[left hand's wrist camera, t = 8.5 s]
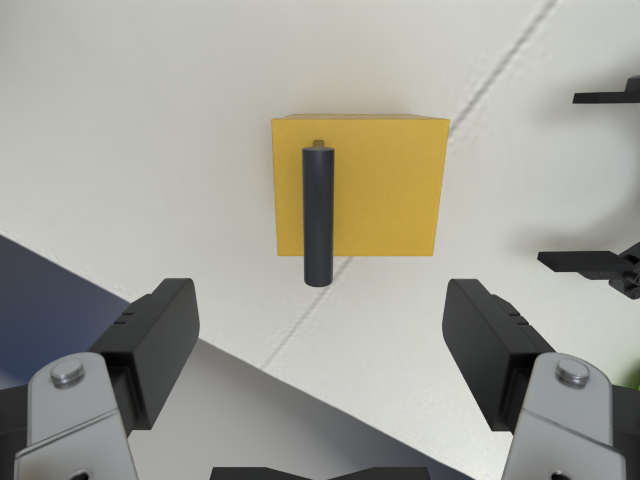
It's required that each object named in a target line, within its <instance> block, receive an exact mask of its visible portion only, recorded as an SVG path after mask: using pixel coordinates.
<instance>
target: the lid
mask: <svg viewBox="0 0 640 480" xmlns="http://www.w3.org/2000/svg"><path fill="white" fill-rule="evenodd" d="M271 122H272V143H273V165H274V186H275V208H276V229H277V250H278V256H304V281H305V283H306V284H307V285H309V286H312V287H324V286H328V285H330V284H331V283H332V281H333V256H433V250H434V242H435V234H436V226H437V218H438V210H439V202H440V194H441V186H442V178H443V170H444V162H445V154H446V146H447V138H448V130H449V122H450V120H449V119H272V120H271Z"/></svg>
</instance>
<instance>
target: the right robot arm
mask: <svg viewBox="0 0 640 480" xmlns="http://www.w3.org/2000/svg"><path fill="white" fill-rule="evenodd" d="M600 103H640V75H639V76H634V77H631V78H629V79H628V81H627V85H626V88H625V92H596V93H575V94H574V98H573V103H572V104H600ZM537 260H539V261H540V262H542V263H543V264H544V265H546V266H547V267H549V268H550V269H551V270H553V271H554V272H578V273H579V274H581V275H582V276H584V277H585V278H587V279H590V280H609V285H610V286H611V287H613V288H614V289H616V290H618V291H619V292H621V293H622V294H624V295H626V296H627V297H629V298H630V299H634V300H635V299H638V298H640V242H638V243H637V244H635V245H634V246H632V247H630V248H629V249H627V250H626V251H624V252H623V253H621V254H619V255H616V254H614V253H612V252H610V251H568V252H539V253H538V258H537Z"/></svg>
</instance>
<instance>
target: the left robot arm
mask: <svg viewBox="0 0 640 480" xmlns="http://www.w3.org/2000/svg"><path fill="white" fill-rule="evenodd" d="M199 329H200V322H199V314H198V308H197V301H196V294H195V287H194V283H193V280H192V279H190V278H166V279H164V280H163V281H162V282H161V284H160V285H159V286H158V287H157V288H156V289H155V290H154V291H153V293H152V294H146V295H145V296H143V297H141V298H139V299H138V300H136V301H134V302H133V303H131V304H130V306H129V307H128V308H127V309H126V310H125V311H124V312H123V313H122V315H121V316H119V317H118V318H117V319H116V320H115V321H114V324H112V325H111V326H110V327H109V328H108V329H107V330H106V331H105V332H104V333H103V334H102V335H101V336H100V337H99V338H98V340H97V341H96V342H95V343H94V344H93V345H92V346H91V347H90V348H89V349H88V350H87V351H86V352H84V353H77V354H72V355H69V356H65V357H63V358H60V359H58V360H56V361H53V362H52V363H50V364H48V365H47V366H45V367H44V368H42V369H41V370H40V371H38V372H37V373H36V374H35V375H34V376H33V377H32V379H31V380H30V382H29V384H26V385H21V386H17V387H12V388H7V389H2V390H0V480H139V478H138V475H137V471H136V468H135V464H134V461H133V457H132V454H131V450H130V447H129V443H128V440H127V439H128V437H129V435H130V433H131V432H132V430H151V429H152V427H153V425H154V423H155V421H156V419H157V417H158V415H159V413H160V411H161V409H162V408H163V406H164V404H165V402H166V400H167V398H168V396H169V394H170V392H171V390H172V388H173V386H174V384H175V382H176V381H177V379H178V377H179V375H180V373H181V371H182V369H183V367H184V365H185V363H186V361H187V359H188V357H189V355H190V353H191V352H192V350H193V348H194V346H195V344H196V342H197V339H198V336H199ZM442 331H443V337H444V340H445V343H446V345H447V347H448V349H449V350H450V352H451V354H452V356H453V358H454V360H455V362H456V364H457V366H458V368H459V370H460V371H461V373H462V375H463V377H464V379H465V381H466V383H467V385H468V387H469V389H470V391H471V392H472V394H473V396H474V398H475V400H476V402H477V404H478V406H479V408H480V410H481V412H482V413H483V415H484V417H485V419H486V421H487V423H488V425H489V427H490V429H491V431H511V433H512V435H513V440H512V443H511V447H510V450H509V454H508V457H507V461H506V464H505V468H504V471H503V475H502V478H501V480H640V390H635V389H630V388H626V387H621V386H616V385H612V384H611V382H610V380H609V379H608V377H607V376H606V375H605V374H604V373H603V372H602V371H600V370H599V369H598V368H597V367H595V366H594V365H592V364H590V363H588V362H587V361H584V360H582V359H580V358H577V357H575V356H571V355H568V354H563V353H557V352H556V351H555V350H554V349H553V348H552V347H551V346H550V345H549V344H548V343H547V342H546V341H545V339H544V338H543V337H542V336H541V335H540V334H539V333H538V332H537V331H536V330H535V329H534V328H533V327H532V326H531V325H529V323H528V322H527V321H526V319H525V318H524V317H523V316H520V313H519V312H518V311H517V310H516V309H515V308H514V307H513V306H512V305H511V304H510V303H509V302H507V301H505V300H503V299H502V298H500V297H498V296H497V295H491V294H490V293H489V292H488V291H487V289H486V288H485V287H484V286H483V285H482V284H481V283H480V282H479V281H478V280H477V279H451V280H450V281H449V283H448V287H447V294H446V300H445V307H444V314H443V321H442ZM210 480H311V479H308V478H304V477H300V476H297V475H293V474H289V473H285V472H282V471H278V470H274V469H270V468H267V467H213V470H212V473H211V477H210ZM329 480H430V477H429V473H428V470H427V467H373V468H370V469H366V470H362V471H359V472H355V473H351V474H347V475H343V476H340V477H336V478H332V479H329Z"/></svg>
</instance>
